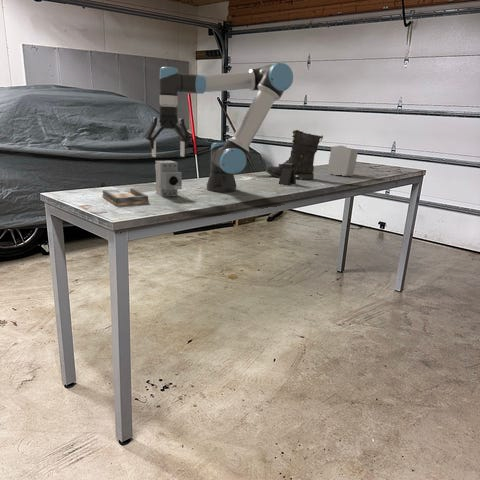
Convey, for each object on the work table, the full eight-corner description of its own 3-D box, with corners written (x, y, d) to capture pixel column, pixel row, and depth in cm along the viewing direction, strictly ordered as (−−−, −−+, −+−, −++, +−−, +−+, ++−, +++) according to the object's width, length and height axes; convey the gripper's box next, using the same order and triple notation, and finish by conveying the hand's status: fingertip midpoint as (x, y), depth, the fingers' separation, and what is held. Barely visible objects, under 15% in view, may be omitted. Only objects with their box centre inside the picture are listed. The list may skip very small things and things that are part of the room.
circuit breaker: (167, 199, 180) (167, 164, 175) (155, 193, 191) (155, 160, 187) (183, 198, 184) (183, 164, 179) (170, 192, 195) (170, 160, 191)
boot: (266, 174, 267) (269, 128, 258) (318, 178, 261) (323, 131, 252) (264, 176, 256) (267, 128, 247) (318, 181, 250) (323, 131, 242)
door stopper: (287, 185, 229) (288, 163, 225) (278, 184, 232) (280, 162, 229) (296, 184, 235) (297, 162, 232) (287, 182, 239) (289, 161, 236)
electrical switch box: (356, 179, 281) (362, 149, 277) (345, 177, 270) (351, 146, 266) (337, 176, 290) (342, 147, 286) (326, 174, 279) (331, 144, 275)
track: (133, 194, 185) (133, 188, 184) (148, 203, 171) (148, 196, 170) (102, 197, 178) (102, 190, 177) (115, 205, 164) (115, 198, 163)
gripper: (190, 107, 185) (189, 155, 192) (137, 104, 172) (138, 155, 178) (198, 107, 179) (197, 157, 186) (143, 104, 166) (144, 157, 172)
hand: (168, 156), depth 182 cm, fingers open, 13 cm apart
